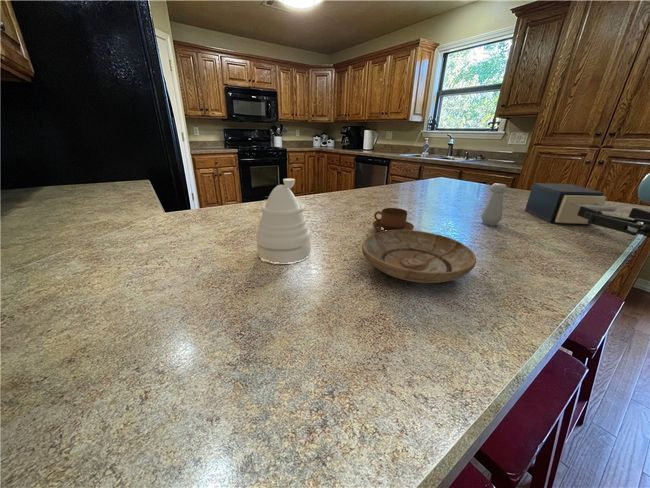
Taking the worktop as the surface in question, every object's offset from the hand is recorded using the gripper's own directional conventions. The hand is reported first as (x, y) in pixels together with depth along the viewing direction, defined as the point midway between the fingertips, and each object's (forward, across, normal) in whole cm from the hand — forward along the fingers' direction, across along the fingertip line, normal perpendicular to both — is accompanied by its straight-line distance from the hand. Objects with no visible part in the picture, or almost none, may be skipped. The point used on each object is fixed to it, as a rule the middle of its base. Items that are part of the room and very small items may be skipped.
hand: (605, 211), depth 77 cm
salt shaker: (+7, -27, -7) cm, 29 cm away
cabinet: (+18, 0, -7) cm, 19 cm away
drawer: (+12, 0, -6) cm, 13 cm away
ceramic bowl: (-27, -58, -7) cm, 65 cm away
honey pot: (-23, -89, -7) cm, 92 cm away
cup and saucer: (-4, -60, -7) cm, 61 cm away
